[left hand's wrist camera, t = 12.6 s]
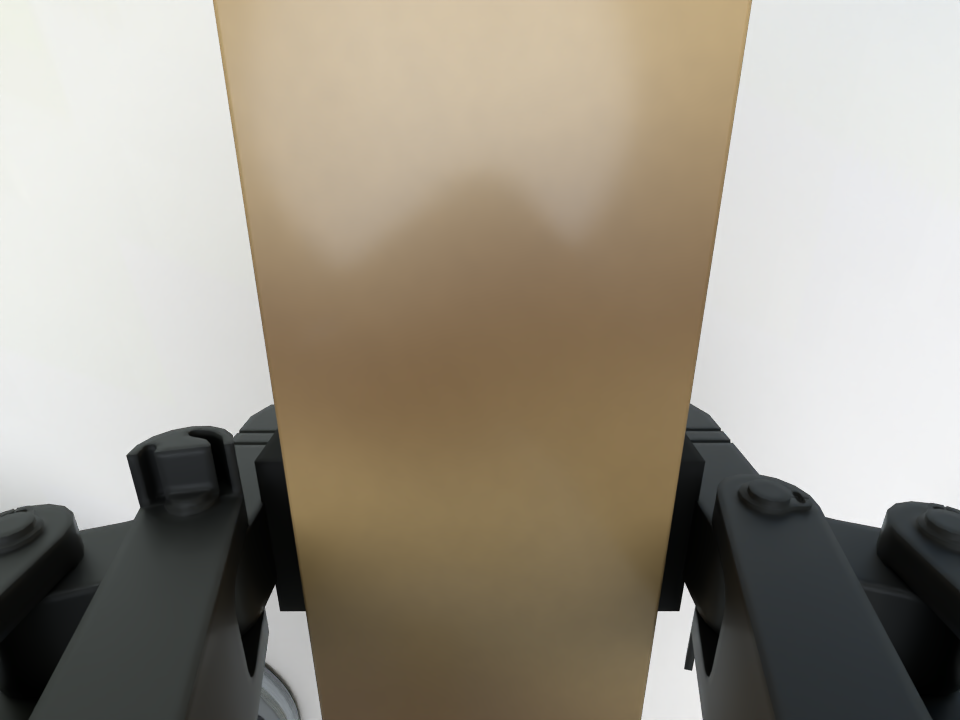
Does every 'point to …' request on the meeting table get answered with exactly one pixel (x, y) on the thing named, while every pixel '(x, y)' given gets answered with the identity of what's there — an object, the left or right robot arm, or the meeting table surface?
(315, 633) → the bar
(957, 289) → the meeting table surface
